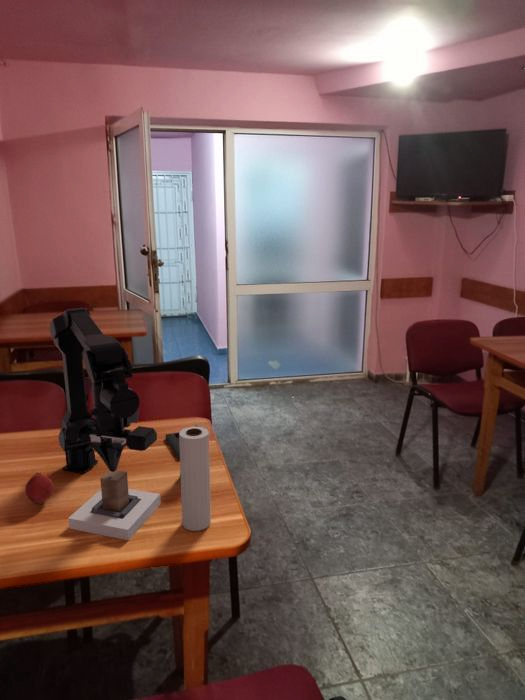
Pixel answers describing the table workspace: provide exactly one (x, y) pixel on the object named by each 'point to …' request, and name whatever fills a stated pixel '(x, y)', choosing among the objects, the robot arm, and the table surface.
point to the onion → (39, 488)
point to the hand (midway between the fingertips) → (113, 470)
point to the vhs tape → (174, 443)
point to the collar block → (115, 515)
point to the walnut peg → (115, 491)
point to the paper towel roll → (195, 477)
